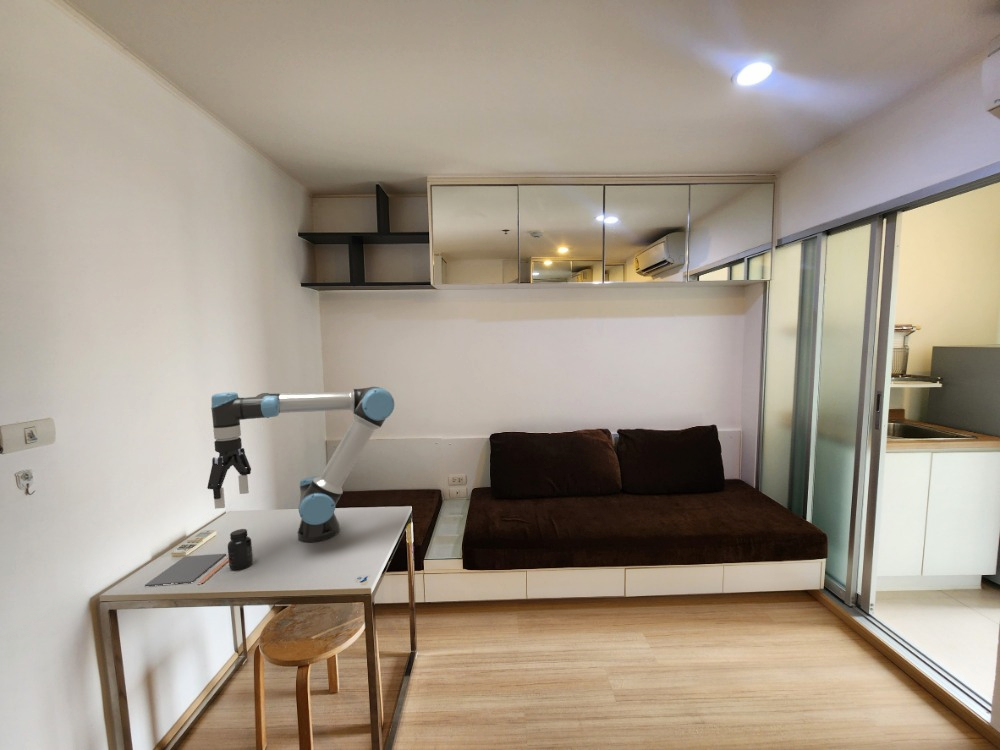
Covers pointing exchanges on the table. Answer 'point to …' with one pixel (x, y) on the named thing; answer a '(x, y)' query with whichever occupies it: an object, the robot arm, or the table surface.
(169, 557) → the table surface
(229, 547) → the supplement bottle
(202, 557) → the mat
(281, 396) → the robot arm
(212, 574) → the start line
